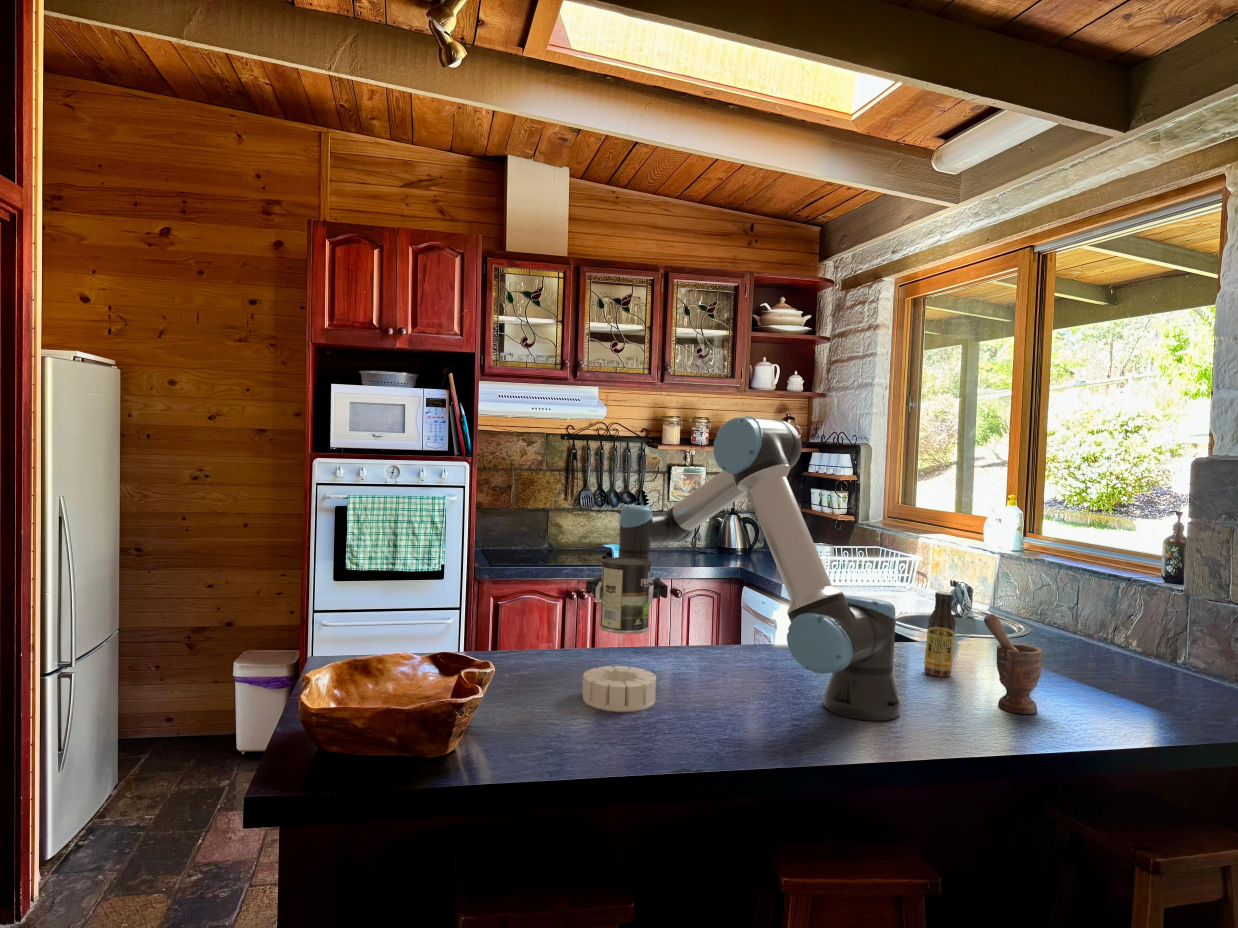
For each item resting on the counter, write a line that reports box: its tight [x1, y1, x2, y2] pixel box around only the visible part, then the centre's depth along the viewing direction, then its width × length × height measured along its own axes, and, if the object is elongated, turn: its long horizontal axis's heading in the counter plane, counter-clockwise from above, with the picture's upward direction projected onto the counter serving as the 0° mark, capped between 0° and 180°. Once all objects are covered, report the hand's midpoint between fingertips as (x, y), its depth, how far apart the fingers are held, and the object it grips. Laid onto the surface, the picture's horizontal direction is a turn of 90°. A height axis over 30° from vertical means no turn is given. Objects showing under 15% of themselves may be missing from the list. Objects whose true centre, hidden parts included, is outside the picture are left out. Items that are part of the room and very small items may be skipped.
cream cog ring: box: [581, 665, 657, 713], centre depth 169 cm, size 15×15×5 cm
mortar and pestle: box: [983, 613, 1043, 715], centre depth 172 cm, size 12×9×20 cm
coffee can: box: [598, 556, 652, 635], centre depth 169 cm, size 10×10×14 cm
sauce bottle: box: [923, 591, 956, 678], centre depth 197 cm, size 6×6×20 cm
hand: (623, 596), depth 165 cm, fingers closed on coffee can, 10 cm apart
